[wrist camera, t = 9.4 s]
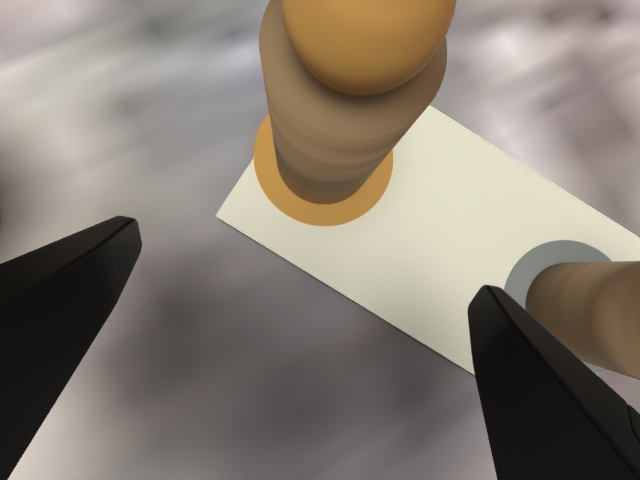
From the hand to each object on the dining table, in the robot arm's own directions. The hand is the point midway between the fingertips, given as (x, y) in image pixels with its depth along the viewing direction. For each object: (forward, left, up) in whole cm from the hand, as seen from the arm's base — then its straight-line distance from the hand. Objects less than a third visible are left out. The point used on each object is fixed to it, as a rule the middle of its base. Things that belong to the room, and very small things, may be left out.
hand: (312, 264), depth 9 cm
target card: (+5, -5, -9) cm, 12 cm away
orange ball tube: (+5, +2, -8) cm, 10 cm away
